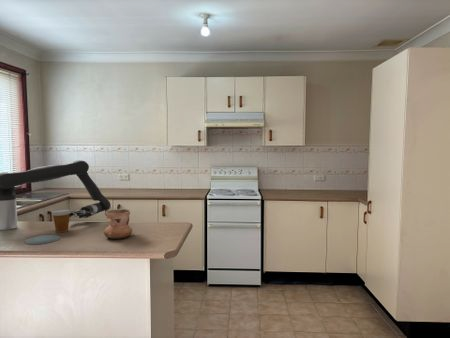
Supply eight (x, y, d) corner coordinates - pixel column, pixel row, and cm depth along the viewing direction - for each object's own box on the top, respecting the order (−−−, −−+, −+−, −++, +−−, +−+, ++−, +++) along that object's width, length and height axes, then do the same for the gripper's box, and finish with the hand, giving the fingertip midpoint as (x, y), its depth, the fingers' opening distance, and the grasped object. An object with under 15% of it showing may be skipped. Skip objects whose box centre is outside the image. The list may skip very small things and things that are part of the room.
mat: (17, 241, 166) (17, 241, 166) (47, 234, 180) (47, 233, 180) (36, 246, 159) (36, 245, 159) (66, 237, 173) (66, 237, 173)
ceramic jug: (119, 242, 164) (119, 215, 163) (96, 239, 169) (96, 212, 168) (140, 234, 181) (140, 208, 180) (118, 231, 186) (118, 206, 185)
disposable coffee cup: (57, 234, 180) (56, 212, 179) (49, 231, 186) (48, 210, 185) (74, 230, 188) (73, 209, 187) (66, 227, 193) (65, 208, 193)
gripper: (78, 204, 213) (62, 209, 198) (98, 205, 211) (83, 210, 195) (79, 216, 214) (62, 221, 198) (99, 216, 211) (84, 222, 196)
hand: (73, 216), depth 197 cm, fingers open, 8 cm apart
